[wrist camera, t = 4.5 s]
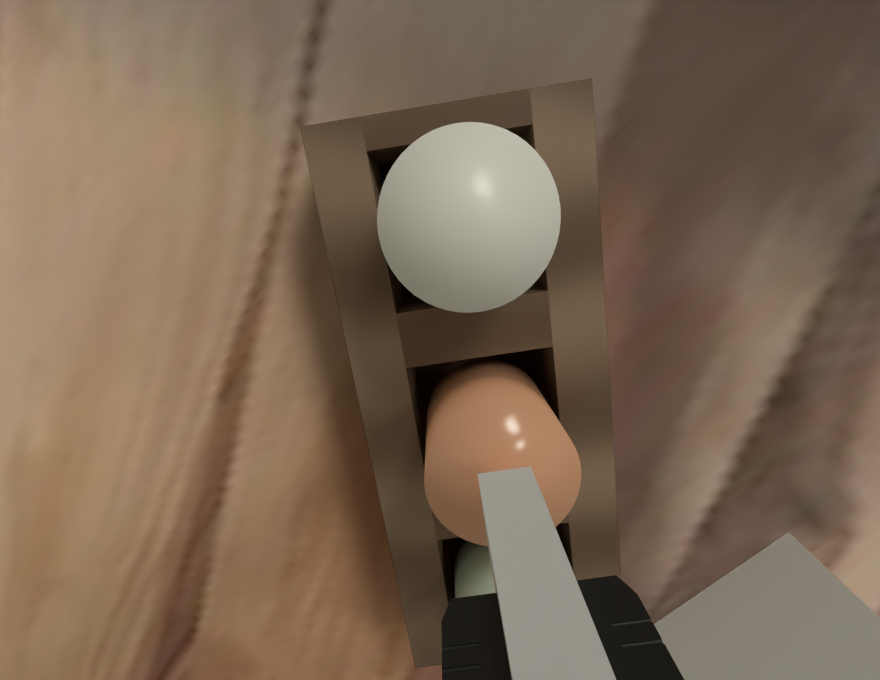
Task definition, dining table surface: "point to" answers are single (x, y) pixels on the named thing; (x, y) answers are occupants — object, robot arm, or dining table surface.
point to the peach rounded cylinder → (493, 444)
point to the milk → (775, 623)
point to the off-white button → (468, 217)
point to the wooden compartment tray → (470, 330)
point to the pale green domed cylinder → (473, 571)
